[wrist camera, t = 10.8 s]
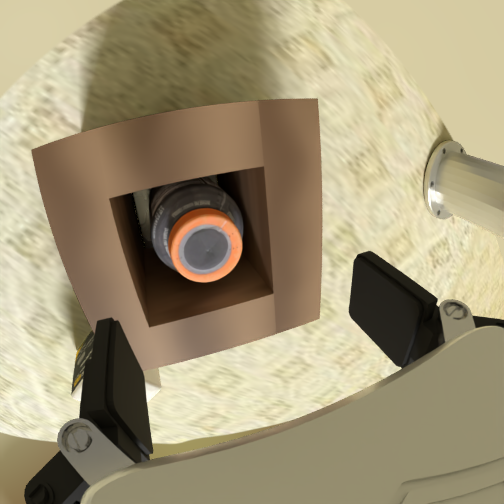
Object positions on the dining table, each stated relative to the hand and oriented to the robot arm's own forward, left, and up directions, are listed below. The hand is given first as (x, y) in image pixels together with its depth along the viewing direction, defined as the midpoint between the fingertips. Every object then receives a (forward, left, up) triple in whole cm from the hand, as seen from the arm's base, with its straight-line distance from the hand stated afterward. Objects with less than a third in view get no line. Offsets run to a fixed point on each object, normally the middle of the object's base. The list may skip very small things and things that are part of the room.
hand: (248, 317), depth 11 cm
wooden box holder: (+1, 0, -18) cm, 18 cm away
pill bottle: (0, 0, -17) cm, 17 cm away
